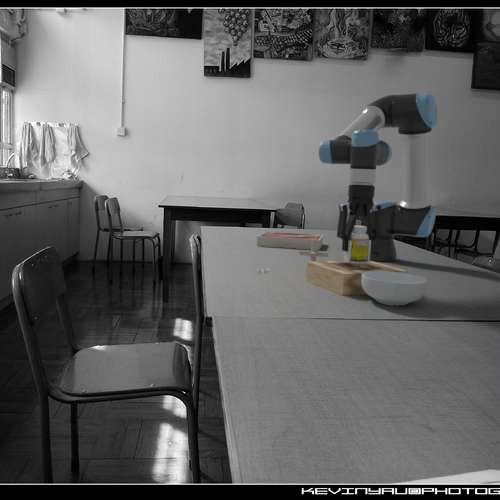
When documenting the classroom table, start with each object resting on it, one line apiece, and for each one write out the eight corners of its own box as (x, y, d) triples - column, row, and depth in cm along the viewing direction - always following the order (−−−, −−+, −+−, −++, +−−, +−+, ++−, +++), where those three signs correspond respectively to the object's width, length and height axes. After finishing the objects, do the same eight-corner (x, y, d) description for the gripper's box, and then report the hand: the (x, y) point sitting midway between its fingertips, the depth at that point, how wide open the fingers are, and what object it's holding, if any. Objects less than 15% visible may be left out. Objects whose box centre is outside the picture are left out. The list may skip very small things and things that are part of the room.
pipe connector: (326, 271, 178) (328, 242, 177) (297, 268, 180) (299, 240, 179) (327, 266, 188) (329, 239, 186) (300, 264, 190) (302, 237, 188)
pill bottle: (343, 260, 157) (345, 224, 156) (363, 261, 158) (365, 225, 156) (349, 264, 151) (351, 227, 150) (369, 264, 152) (372, 227, 150)
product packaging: (265, 241, 255) (265, 231, 254) (322, 245, 250) (323, 235, 249) (256, 247, 234) (257, 236, 234) (318, 251, 229) (319, 240, 228)
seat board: (365, 277, 169) (366, 259, 168) (405, 291, 151) (407, 270, 150) (306, 280, 160) (307, 261, 159) (342, 295, 142) (343, 273, 141)
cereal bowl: (415, 314, 125) (417, 285, 124) (350, 303, 134) (352, 276, 133) (431, 301, 140) (434, 275, 139) (372, 292, 148) (373, 267, 147)
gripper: (380, 184, 158) (374, 258, 162) (327, 182, 151) (322, 260, 154) (396, 185, 152) (390, 262, 155) (341, 183, 144) (336, 264, 147)
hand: (356, 261), depth 155 cm, fingers closed on pill bottle, 6 cm apart
